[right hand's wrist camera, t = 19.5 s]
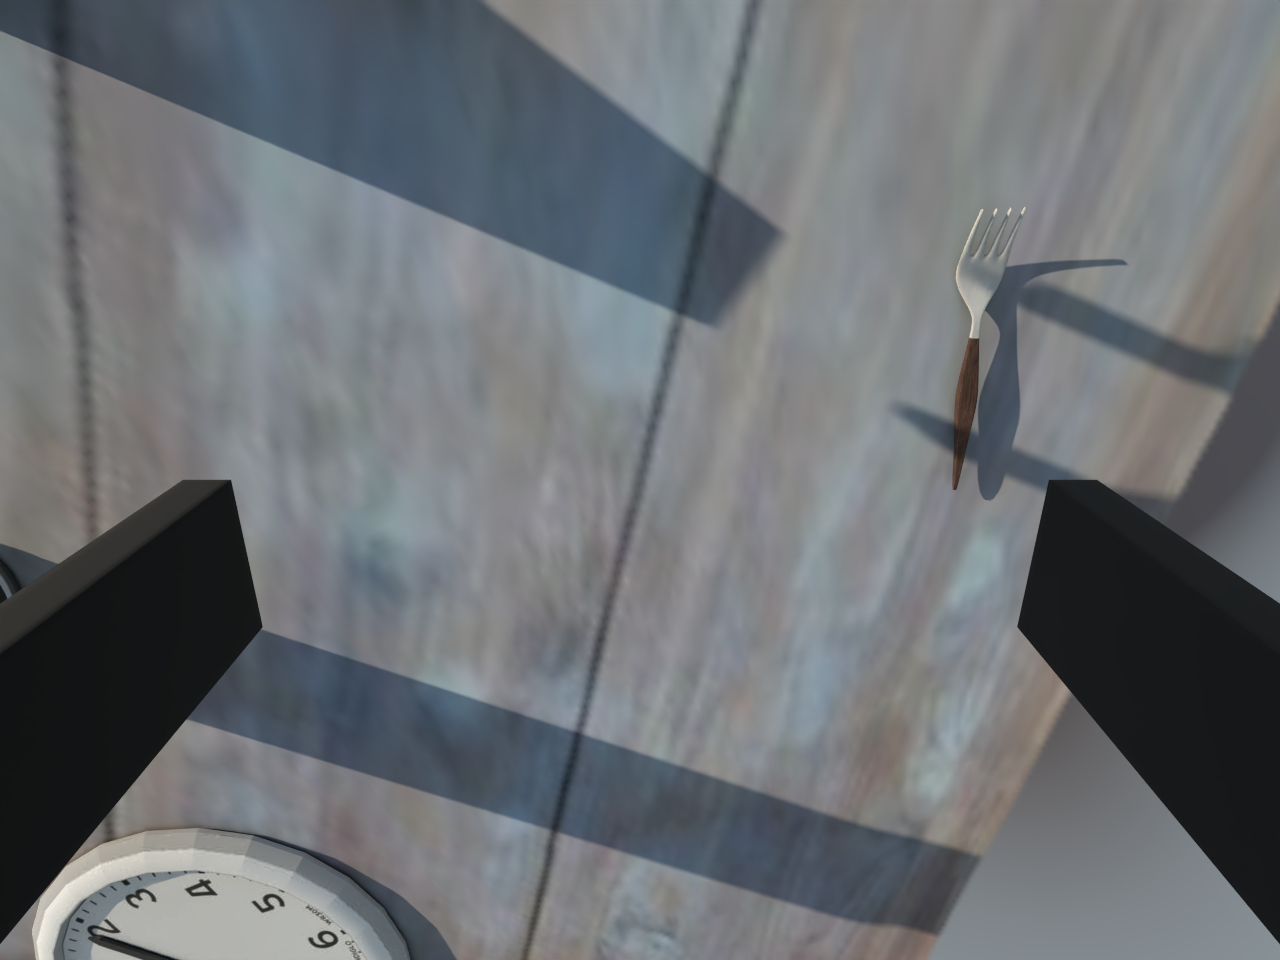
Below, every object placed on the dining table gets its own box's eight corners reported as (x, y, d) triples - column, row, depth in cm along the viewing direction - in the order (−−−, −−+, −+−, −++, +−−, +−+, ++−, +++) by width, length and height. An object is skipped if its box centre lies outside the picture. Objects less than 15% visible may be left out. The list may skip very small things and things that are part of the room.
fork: (929, 487, 46) (941, 500, 44) (962, 207, 40) (978, 208, 38) (972, 485, 46) (986, 498, 44) (1012, 205, 40) (1030, 207, 38)
